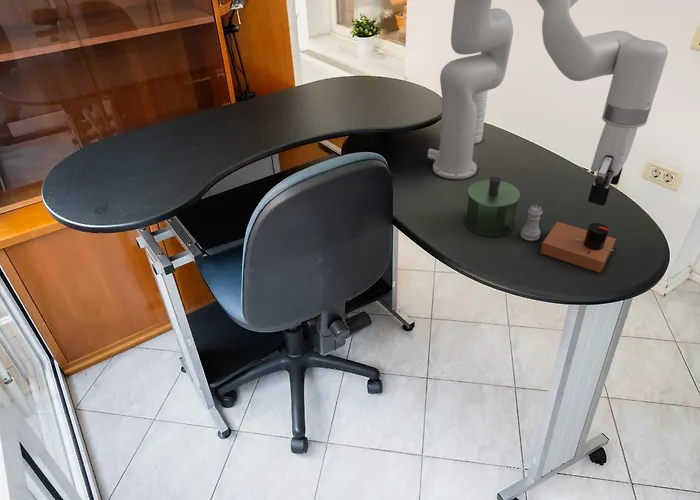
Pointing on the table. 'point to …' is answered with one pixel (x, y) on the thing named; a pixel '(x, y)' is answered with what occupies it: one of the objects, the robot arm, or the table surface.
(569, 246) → the knob base block
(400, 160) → the table surface
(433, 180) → the table surface
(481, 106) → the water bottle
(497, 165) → the table surface
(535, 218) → the rook chess piece
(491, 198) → the pot lid
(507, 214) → the pot
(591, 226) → the stove knob
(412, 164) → the table surface
